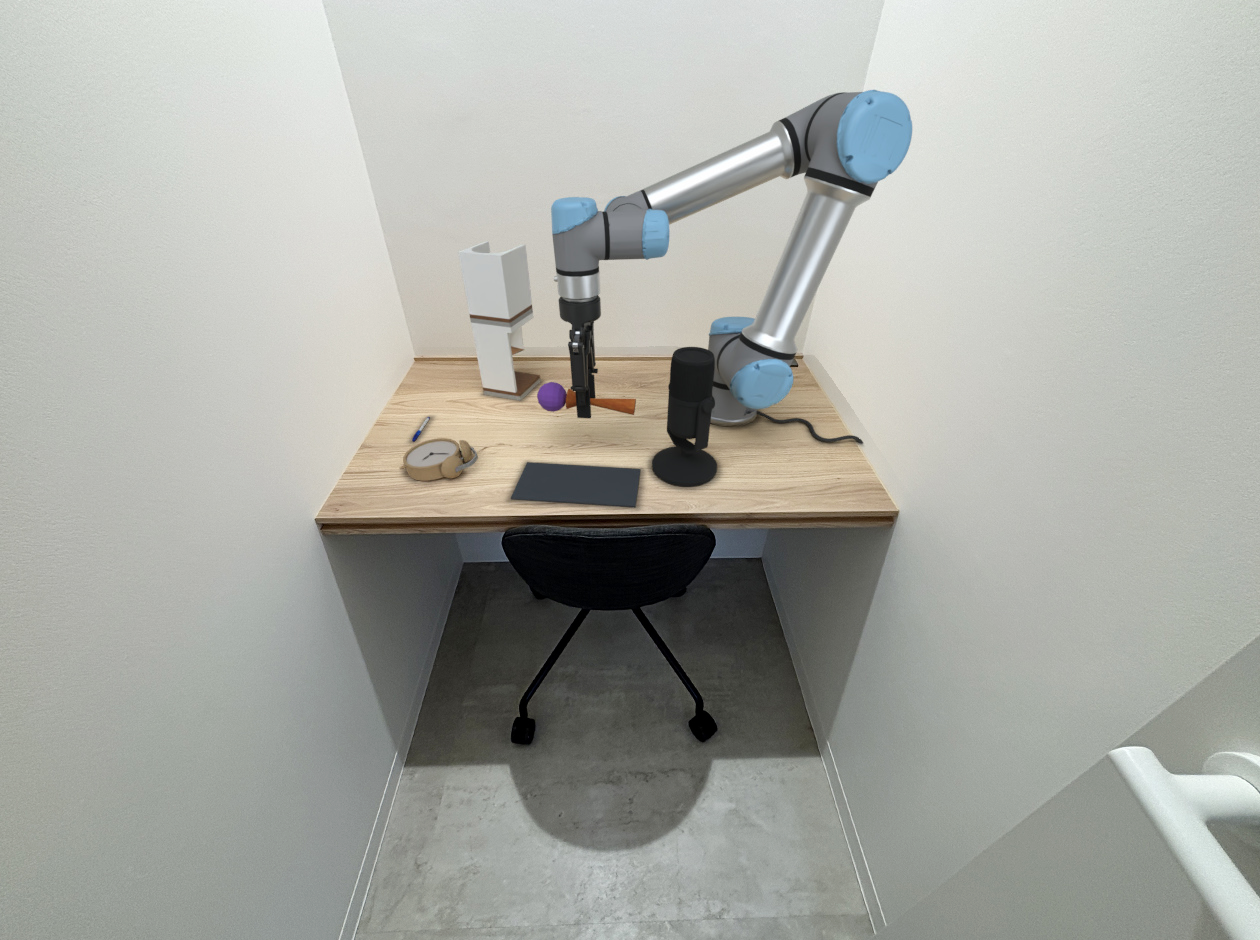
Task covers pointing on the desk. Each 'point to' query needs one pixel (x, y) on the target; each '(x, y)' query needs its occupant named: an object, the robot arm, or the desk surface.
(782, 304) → the robot arm
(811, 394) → the desk surface
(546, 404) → the kendama
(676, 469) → the microphone
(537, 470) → the mat
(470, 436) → the desk surface
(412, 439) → the ballpoint pen
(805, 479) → the desk surface
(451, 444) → the alarm clock
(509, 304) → the display case
